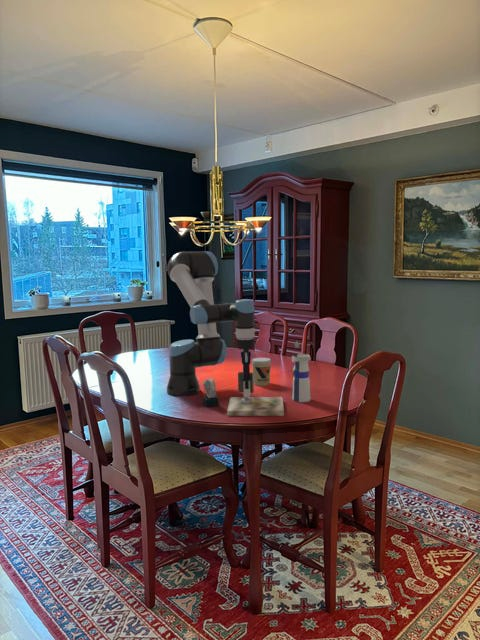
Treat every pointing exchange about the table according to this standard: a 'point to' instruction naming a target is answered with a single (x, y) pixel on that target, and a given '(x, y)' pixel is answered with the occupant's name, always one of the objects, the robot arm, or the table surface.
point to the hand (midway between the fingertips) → (246, 394)
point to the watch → (210, 393)
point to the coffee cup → (261, 371)
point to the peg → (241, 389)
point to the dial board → (256, 407)
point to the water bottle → (301, 377)
